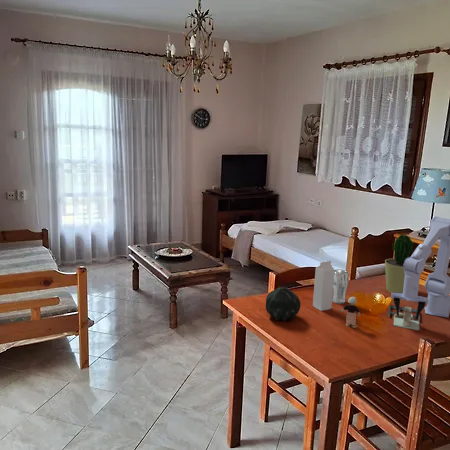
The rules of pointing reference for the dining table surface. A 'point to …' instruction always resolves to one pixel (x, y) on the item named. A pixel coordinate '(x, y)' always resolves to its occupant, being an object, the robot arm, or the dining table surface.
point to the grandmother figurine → (351, 312)
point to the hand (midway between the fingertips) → (407, 316)
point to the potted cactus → (397, 264)
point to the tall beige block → (407, 316)
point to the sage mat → (413, 325)
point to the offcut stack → (402, 316)
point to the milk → (323, 286)
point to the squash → (282, 304)
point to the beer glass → (340, 286)
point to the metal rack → (402, 309)
